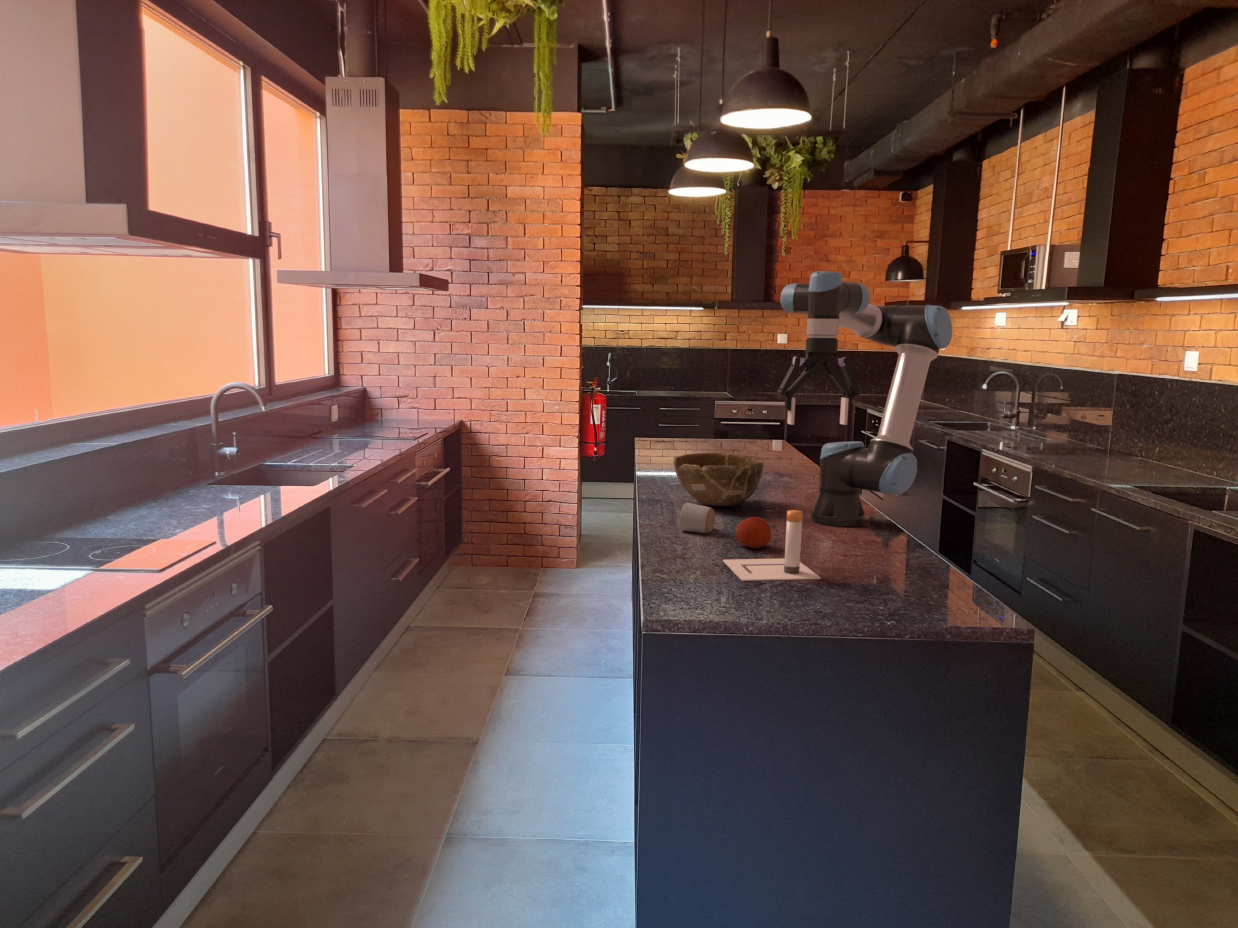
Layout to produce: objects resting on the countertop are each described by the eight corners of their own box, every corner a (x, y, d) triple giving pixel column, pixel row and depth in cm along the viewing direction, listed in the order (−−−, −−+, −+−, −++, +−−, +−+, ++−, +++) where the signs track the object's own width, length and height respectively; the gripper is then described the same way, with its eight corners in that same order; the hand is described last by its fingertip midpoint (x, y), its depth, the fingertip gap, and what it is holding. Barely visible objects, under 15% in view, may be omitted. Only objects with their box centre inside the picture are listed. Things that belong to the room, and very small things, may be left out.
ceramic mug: (707, 536, 223) (709, 508, 222) (678, 533, 227) (679, 505, 225) (718, 528, 233) (720, 501, 232) (690, 525, 236) (691, 498, 235)
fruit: (748, 540, 220) (750, 510, 219) (777, 547, 214) (778, 516, 212) (727, 546, 214) (728, 515, 212) (756, 553, 207) (757, 522, 206)
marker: (796, 569, 193) (799, 509, 191) (801, 573, 190) (805, 513, 188) (781, 569, 193) (784, 509, 191) (786, 574, 189) (790, 513, 187)
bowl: (699, 518, 244) (701, 467, 242) (658, 500, 269) (659, 453, 266) (779, 512, 255) (782, 463, 253) (733, 495, 280) (735, 450, 277)
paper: (795, 559, 203) (795, 557, 203) (820, 579, 187) (820, 577, 187) (722, 560, 200) (722, 559, 200) (742, 580, 185) (742, 579, 185)
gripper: (864, 337, 210) (858, 422, 213) (767, 335, 206) (763, 422, 209) (877, 338, 202) (871, 426, 206) (777, 336, 199) (773, 425, 202)
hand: (817, 424), depth 208 cm, fingers open, 13 cm apart
